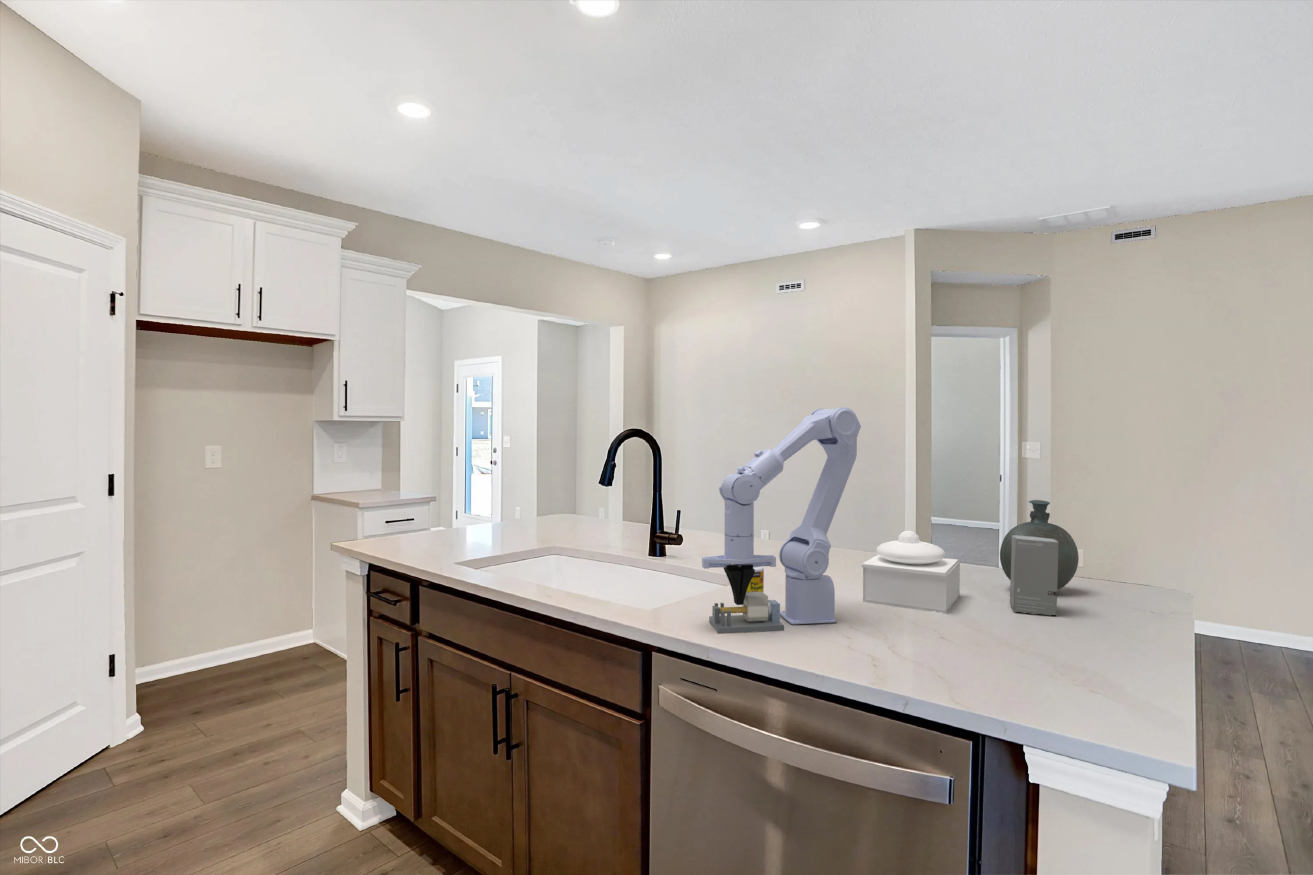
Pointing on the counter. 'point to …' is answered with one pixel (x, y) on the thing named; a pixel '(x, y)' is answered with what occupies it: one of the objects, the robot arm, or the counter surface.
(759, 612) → the sleeve
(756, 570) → the supplement bottle
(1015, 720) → the counter surface
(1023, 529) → the flask
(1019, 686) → the counter surface
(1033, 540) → the skincare box
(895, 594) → the white lidded box
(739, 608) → the linear actuator
